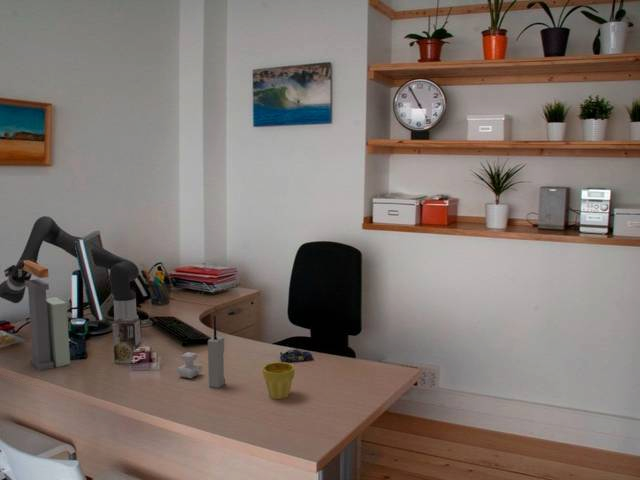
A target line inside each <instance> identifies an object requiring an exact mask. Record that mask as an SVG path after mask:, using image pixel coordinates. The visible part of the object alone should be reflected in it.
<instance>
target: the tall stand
mask: <svg viewBox="0 0 640 480" xmlns="http://www.w3.org/2000/svg"><path fill="white" fill-rule="evenodd" d="M25 286H26V288H27V291H28V292H27V293H28V294H27V295H28V307H29V320H30V321H29V323H30V336H31V350H32V353H31V354H32V356H30V357H29V362H30V364H31V365H33V366H34V367H35V368H36V369H37V370H39V371H45V370H49V369H54V367H55V365H54V363H53V362H52V361H51V360H50V347H49V332H48V316H47V300H46V298H47V290H49V289H50V286H49V283H47V282H46V281H44V280H41V278H36V279H30V280H27V281H25Z"/></svg>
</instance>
